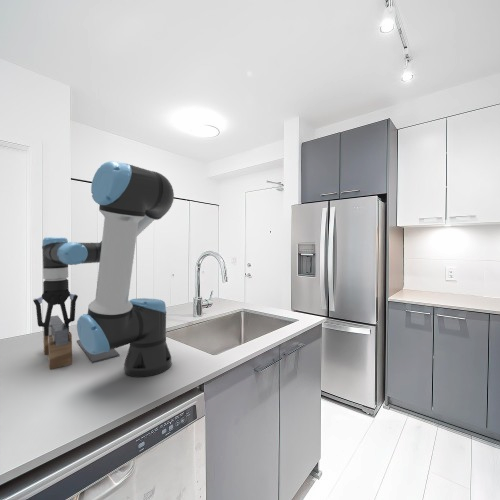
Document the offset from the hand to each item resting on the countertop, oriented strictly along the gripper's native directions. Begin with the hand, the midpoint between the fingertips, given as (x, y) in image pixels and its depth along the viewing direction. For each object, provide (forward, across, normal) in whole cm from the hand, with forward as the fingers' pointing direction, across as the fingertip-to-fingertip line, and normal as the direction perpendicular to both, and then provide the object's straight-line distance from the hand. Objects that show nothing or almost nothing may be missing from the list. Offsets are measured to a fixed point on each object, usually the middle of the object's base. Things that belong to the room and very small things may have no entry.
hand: (57, 342), depth 99 cm
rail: (-2, 0, 0) cm, 2 cm away
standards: (+6, 0, 0) cm, 6 cm away
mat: (+6, -13, 0) cm, 14 cm away
